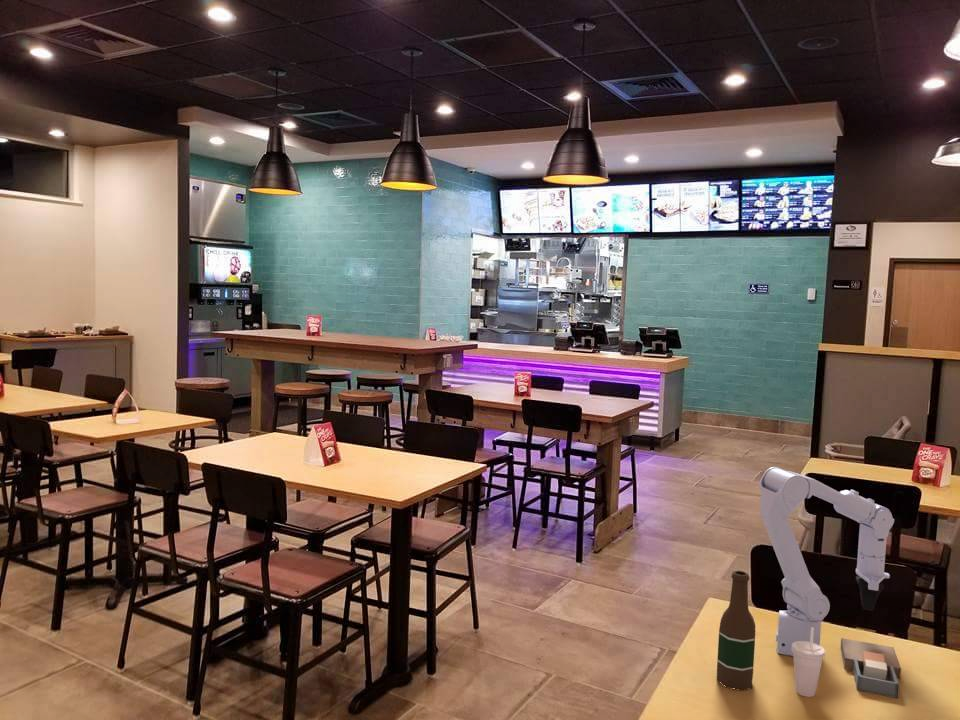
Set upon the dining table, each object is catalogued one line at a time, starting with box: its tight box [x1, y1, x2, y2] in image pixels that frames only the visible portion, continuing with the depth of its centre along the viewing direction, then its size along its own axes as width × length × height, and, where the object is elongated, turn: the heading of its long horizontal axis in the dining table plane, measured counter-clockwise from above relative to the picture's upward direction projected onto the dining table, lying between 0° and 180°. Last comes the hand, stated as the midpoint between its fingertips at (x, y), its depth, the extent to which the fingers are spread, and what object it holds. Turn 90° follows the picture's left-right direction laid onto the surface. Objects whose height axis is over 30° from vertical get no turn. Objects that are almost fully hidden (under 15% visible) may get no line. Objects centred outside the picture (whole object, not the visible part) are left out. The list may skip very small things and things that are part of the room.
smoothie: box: [791, 627, 826, 698], centre depth 152 cm, size 6×6×14 cm
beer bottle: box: [716, 570, 756, 691], centre depth 155 cm, size 8×8×24 cm
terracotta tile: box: [862, 651, 885, 667], centre depth 160 cm, size 4×4×2 cm
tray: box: [852, 658, 900, 699], centre depth 157 cm, size 8×9×3 cm
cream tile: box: [863, 659, 887, 680], centre depth 157 cm, size 4×4×2 cm
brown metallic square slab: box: [840, 637, 902, 680], centre depth 166 cm, size 11×11×2 cm
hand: (867, 609), depth 173 cm, fingers closed
